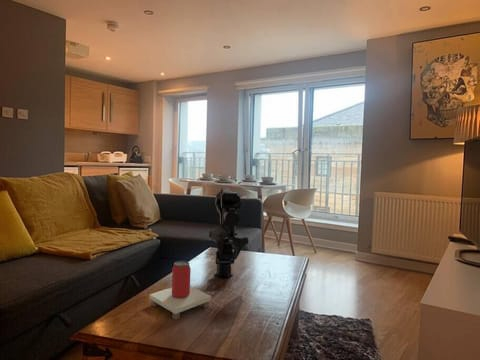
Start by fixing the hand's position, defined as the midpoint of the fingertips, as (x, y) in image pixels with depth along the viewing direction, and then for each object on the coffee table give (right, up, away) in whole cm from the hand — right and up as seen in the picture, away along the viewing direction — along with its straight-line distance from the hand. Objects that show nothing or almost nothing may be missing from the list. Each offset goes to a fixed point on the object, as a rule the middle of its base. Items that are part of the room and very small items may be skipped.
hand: (227, 256), depth 141 cm
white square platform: (-17, -14, -19) cm, 29 cm away
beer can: (-17, -10, -20) cm, 27 cm away
